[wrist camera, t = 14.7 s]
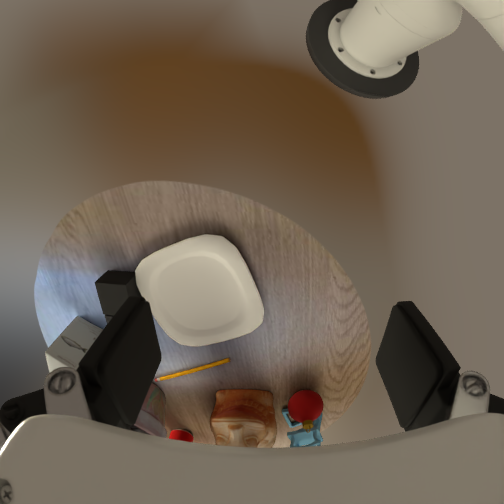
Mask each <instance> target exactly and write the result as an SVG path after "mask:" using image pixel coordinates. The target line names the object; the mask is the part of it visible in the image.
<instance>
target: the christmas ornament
mask: <svg viewBox="0 0 504 504" xmlns="http://www.w3.org/2000/svg"><path fill="white" fill-rule="evenodd" d="M322 410H323V401H322V398H321V397H320V395H319V394H317V393H316V392H314V391H312V390H301V391H299V392H297V393H295V394H294V395H293V396H292V397H291V398H290V400H289V402H288V412H289V414H290V416H291V417H292V418H293V419H294V420H295V421H297V422H300V423H302V425H303V429H306V432H307V433H309V432H310V430H311V428H312V427H313V421H314V420H316V419H317V418H318V417H319V416H320V415H321V413H322ZM308 429H309V431H307V430H308Z"/></svg>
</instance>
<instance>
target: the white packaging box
mask: <svg viewBox="0 0 504 504" xmlns="http://www.w3.org/2000/svg"><path fill="white" fill-rule="evenodd" d="M102 331H103V329H101V328H99V327H97V326H95V325H93V324H91V323H90V322H88V321H86V320H84V319H82V318H81V317H79V316H77V317H76V318H75V319H74V320H73V321H72V322H71V323H70V324H69V325H68V326H67V328H66V329H65V330H64V331H63V332H62V333H61V334H60V336H59V337H58V338H57V339H56V340H55V341H54V342H53V343H52V345H51V346H50V347H49V348H48V349H47V350H46V352H45V355H46V359H47V364H48V368H49V372H51V371H53V370H54V369H57V368H59V367H71V368H73V369H75V370H77V368H78V367H79V365H78V364H79V362H80V361H81V359H82V358H83V357H84V355H85V354H86V352H87V351H88V350H89V348H90V347H91V345H92V344H93V343H94V341H95V340H96V339H97V337H98V336H99V335H100V333H101V332H102Z"/></svg>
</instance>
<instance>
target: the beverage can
mask: <svg viewBox="0 0 504 504" xmlns="http://www.w3.org/2000/svg"><path fill="white" fill-rule="evenodd" d="M169 439H174V440H180V441H187V442H193V435H192V434H191V433H190V432H188V431H186V430H183V429H175V430H172V431H171V433H170V436H169Z"/></svg>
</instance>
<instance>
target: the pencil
mask: <svg viewBox="0 0 504 504" xmlns="http://www.w3.org/2000/svg"><path fill="white" fill-rule="evenodd" d="M227 362H230V359H229V358H227V359H224V360H220V361H217V362H214V363H211V364H207V365H204V366H200V367H197V368H193V369H190V370H186V371H183V372H179V373H175V374H171V375H167V376H164V377H159V378H156V379H155V382H158V381H162V380H166V379H170V378H174V377H178V376H182V375H186V374H189V373H193V372H197V371H200V370H204V369H207V368H211V367H214V366H218V365H221V364H224V363H227Z"/></svg>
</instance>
